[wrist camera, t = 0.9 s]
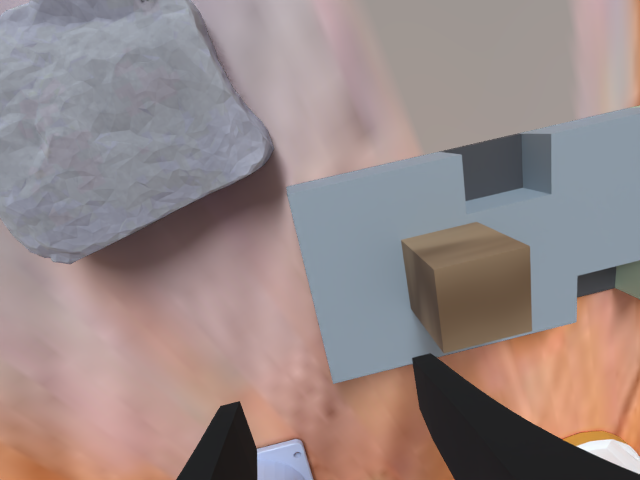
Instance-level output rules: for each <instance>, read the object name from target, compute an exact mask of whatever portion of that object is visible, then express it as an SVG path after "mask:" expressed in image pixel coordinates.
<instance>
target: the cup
mask: <svg viewBox="0 0 640 480" xmlns="http://www.w3.org/2000/svg"><path fill="white" fill-rule="evenodd" d="M562 440H564V441H566V442H568V443H570V444H572V445H574V446H577V447H579V448H581V449H583V450H585V451H587V452H590V453H592V454H594V455H596V456H598V457H600V458H603V459H605V460H607V461H609V462H612V463H614V464H616V465H619V466H621V467H623V468H626V469H628V470H631V471H633V472H636V473H638V474H640V457H639V455H638V454H637V453H636V452H635V450H633V449H632V448H631V447H630V446H629V445H628V444H627V443H626V442H625V441H624V440H622V439H621V438H620V437H618V436H616V435H614V434H611V433H608V432H605V431H592V432H583V433H578V434H575V435H572V436H569V437H567V438H564V439H562Z"/></svg>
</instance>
